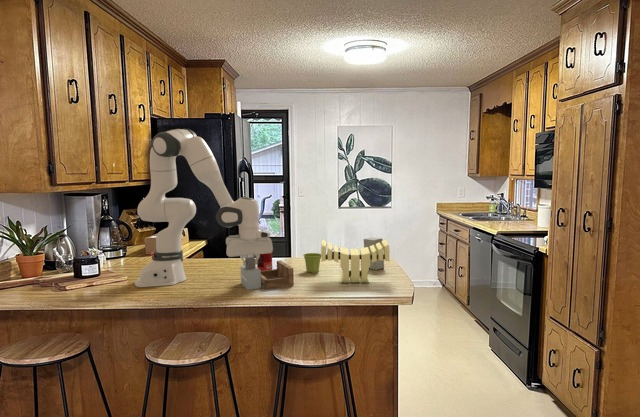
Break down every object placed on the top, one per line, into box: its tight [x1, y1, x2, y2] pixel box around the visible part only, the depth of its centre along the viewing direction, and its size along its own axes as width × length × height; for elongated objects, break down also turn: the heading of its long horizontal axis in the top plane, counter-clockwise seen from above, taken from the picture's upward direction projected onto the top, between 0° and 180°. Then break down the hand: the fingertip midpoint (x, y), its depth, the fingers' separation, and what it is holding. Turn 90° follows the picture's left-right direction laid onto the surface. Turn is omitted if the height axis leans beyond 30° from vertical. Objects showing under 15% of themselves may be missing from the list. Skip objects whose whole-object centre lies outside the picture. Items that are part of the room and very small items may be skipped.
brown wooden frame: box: [261, 260, 295, 290], centre depth 185 cm, size 18×13×8 cm
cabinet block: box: [240, 256, 262, 291], centre depth 181 cm, size 6×12×12 cm, turn 24°
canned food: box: [256, 252, 273, 271], centre depth 210 cm, size 8×8×11 cm
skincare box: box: [363, 236, 385, 271], centre depth 211 cm, size 8×7×16 cm
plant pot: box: [303, 252, 321, 274], centre depth 206 cm, size 9×9×9 cm
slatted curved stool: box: [320, 239, 390, 284], centre depth 188 cm, size 30×16×18 cm, turn 87°
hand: (250, 264), depth 180 cm, fingers closed on cabinet block, 3 cm apart
